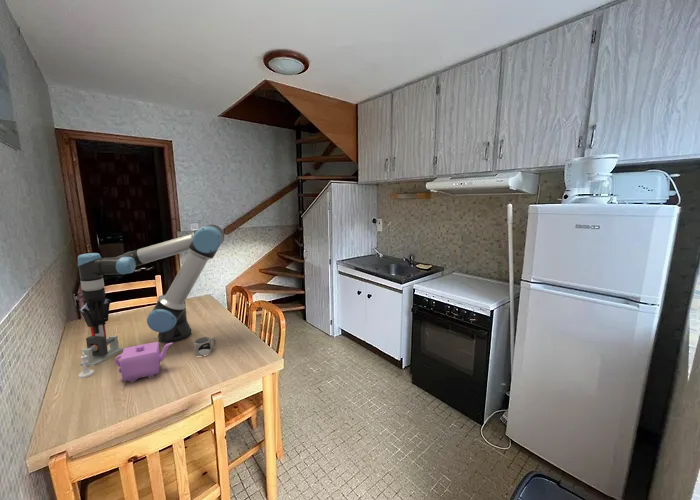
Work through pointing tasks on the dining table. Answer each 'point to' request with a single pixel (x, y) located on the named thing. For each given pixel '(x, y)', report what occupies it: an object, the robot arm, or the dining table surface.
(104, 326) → the beverage can
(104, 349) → the collar
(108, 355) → the pipe rig
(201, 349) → the mug
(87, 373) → the chess piece
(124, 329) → the dining table surface
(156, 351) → the teapot
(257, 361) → the dining table surface
